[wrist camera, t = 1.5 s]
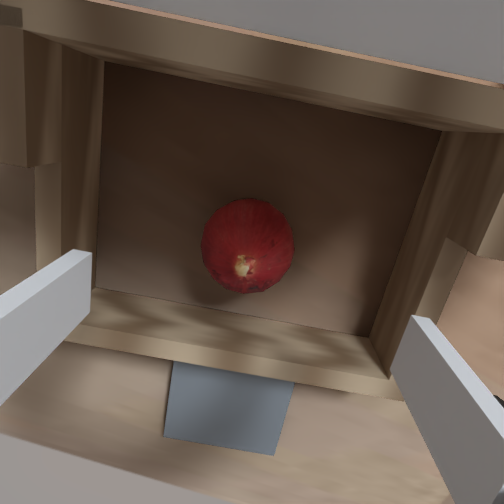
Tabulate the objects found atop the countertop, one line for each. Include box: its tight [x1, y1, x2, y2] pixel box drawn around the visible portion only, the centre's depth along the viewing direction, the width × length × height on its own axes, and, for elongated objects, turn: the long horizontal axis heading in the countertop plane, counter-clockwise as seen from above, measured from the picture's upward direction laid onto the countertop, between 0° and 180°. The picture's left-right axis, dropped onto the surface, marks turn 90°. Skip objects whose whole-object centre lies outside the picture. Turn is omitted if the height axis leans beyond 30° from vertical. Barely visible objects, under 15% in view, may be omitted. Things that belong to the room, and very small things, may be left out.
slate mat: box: [163, 361, 295, 456], centre depth 30 cm, size 10×10×1 cm
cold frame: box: [0, 0, 504, 401], centre depth 22 cm, size 25×19×8 cm
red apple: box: [201, 198, 295, 294], centre depth 22 cm, size 6×6×8 cm
